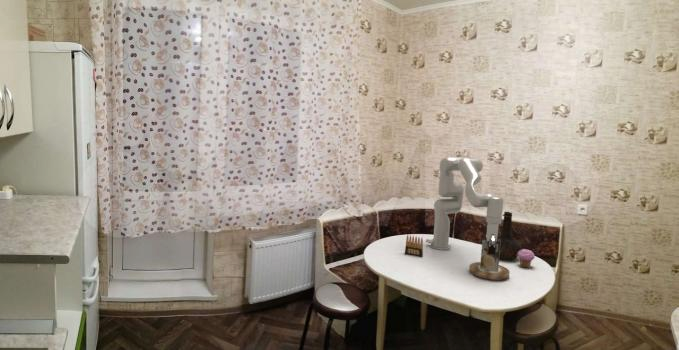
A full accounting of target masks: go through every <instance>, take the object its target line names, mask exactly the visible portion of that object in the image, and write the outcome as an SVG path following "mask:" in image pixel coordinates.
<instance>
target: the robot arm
mask: <svg viewBox="0 0 679 350" xmlns="http://www.w3.org/2000/svg"><path fill="white" fill-rule="evenodd" d="M483 168H484V165H483V161H482V160H481V159H480V158H479V157H470V156H446V157H443V158H441V159H440V162H439V181H438V191H437V192H438V195H439V196H440V198H439V199H436V200H435V201H434V203H433V208H434V223H433V224H434V227H433V238H431V239H429V238H426V241H425V242H426V243H427V244H430V247H431V248H432V249H434V250H437V251H438V250H439V251H446V250H447V251H448V250H451V244H449V240H450V230H451V229H450V228H451V227H450V225H451V220H450V217H449V214H458V213H460V212H461V210H462V206H463V200H464V193H465V197H466V199H467V200H468V201H467V202H469V204H470V205H471V206H472V207H474V208H486V217H485V222H486V223H487V225H486V235H485V237H486V240H487V241H489V248H488V254H493V255H494V254H495V242H497V237H498V233H499V225H500V224H502V220H503V210H504V207H503V206H504V198H503V197H502V196H500V195H496V194H494V193H491V192H483V193H481V192H480V193H477V191H476V190H475V188H474V187H475V186H476V185H478V184H479V183H480V182H481V180H482V176H481V174H480V172H481V171H482V170H483ZM453 171H454V172H456V171H457V172H460V173H461V175H462V177H463V178H464V180H465V182H466V184H465V188H464V187H463V186H464V185H463V184H462V183H461V182H458V181H454V180H455V175H454V172H453ZM464 189H465V190H464ZM441 197H442V198H441ZM490 240H492V241H490ZM490 244H491V245H490Z"/></svg>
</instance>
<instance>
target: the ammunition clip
mask: <svg viewBox="0 0 679 350" xmlns="http://www.w3.org/2000/svg"><path fill="white" fill-rule="evenodd" d="M405 240H406V241H405V248H404V249H405V250H404V255H407V256H413V257H417V258H423V255H424V254H423V253H424V250H423V249H424V242H423V241H424V239H423V237H419V236H418V237H417V236H414V235H413V236H412V235H411V234H410V235H409V234H407V236H406V239H405Z"/></svg>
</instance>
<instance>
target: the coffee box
mask: <svg viewBox="0 0 679 350" xmlns="http://www.w3.org/2000/svg"><path fill="white" fill-rule="evenodd" d="M490 241H492V240H490ZM481 242H482V243H481V250H480V251H481V253H480V262H481V263H480V269H486V270H491V271H497V272H498V268H499V265H500V258H499V254H500V242H501V239H497V242H495V254H494V255H493V254H488V248H489V241H487V240H486V236H483V237H482V240H481ZM490 245H491V244H490Z"/></svg>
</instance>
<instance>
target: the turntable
mask: <svg viewBox="0 0 679 350" xmlns="http://www.w3.org/2000/svg"><path fill="white" fill-rule="evenodd" d="M480 263H481V261H476V262H473V263H471V264H469V271H470V273H471V274H472V275H474V276H476V277H479V278H483V279H487V280H491V281H492V280H495V281H499V280H500V281H501V280H502V281H503V280H507V279H508V278H510V272H511V271H510V270H509V268H507V267H505V266H504V265H500V264H499V268H498V272H497V271H491V270H486V269H480Z"/></svg>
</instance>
